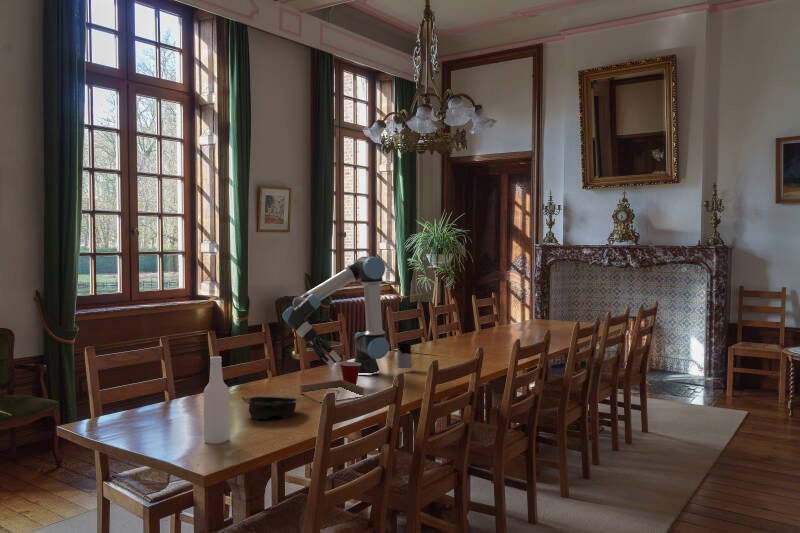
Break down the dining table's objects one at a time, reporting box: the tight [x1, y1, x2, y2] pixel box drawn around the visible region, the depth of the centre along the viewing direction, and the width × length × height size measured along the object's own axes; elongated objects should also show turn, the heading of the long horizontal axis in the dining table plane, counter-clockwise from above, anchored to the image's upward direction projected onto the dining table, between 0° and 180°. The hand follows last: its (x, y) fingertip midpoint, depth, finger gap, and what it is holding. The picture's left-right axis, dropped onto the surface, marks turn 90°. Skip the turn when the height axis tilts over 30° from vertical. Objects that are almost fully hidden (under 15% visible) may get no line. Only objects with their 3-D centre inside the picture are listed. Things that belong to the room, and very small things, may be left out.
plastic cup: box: [339, 361, 361, 385], centre depth 318 cm, size 11×11×12 cm
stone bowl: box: [242, 395, 304, 421], centre depth 262 cm, size 25×25×9 cm
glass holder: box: [396, 343, 422, 369], centre depth 359 cm, size 9×14×15 cm, turn 107°
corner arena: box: [299, 379, 365, 401], centre depth 298 cm, size 22×22×4 cm
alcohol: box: [203, 355, 231, 445], centre depth 227 cm, size 9×9×30 cm
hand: (336, 363), depth 318 cm, fingers open, 13 cm apart
